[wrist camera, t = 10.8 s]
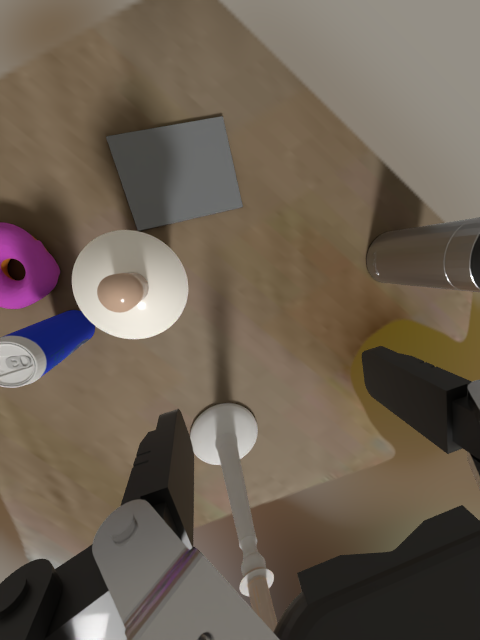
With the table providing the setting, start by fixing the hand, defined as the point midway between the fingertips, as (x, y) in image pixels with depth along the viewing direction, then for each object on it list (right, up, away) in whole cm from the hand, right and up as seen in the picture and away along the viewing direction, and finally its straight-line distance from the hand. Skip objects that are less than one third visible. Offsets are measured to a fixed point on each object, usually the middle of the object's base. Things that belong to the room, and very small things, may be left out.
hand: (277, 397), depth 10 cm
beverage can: (-26, +2, +27) cm, 38 cm away
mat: (-10, +24, +25) cm, 36 cm away
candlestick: (-5, -18, +37) cm, 41 cm away
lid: (-12, +6, +13) cm, 19 cm away
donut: (-32, +11, +24) cm, 42 cm away
